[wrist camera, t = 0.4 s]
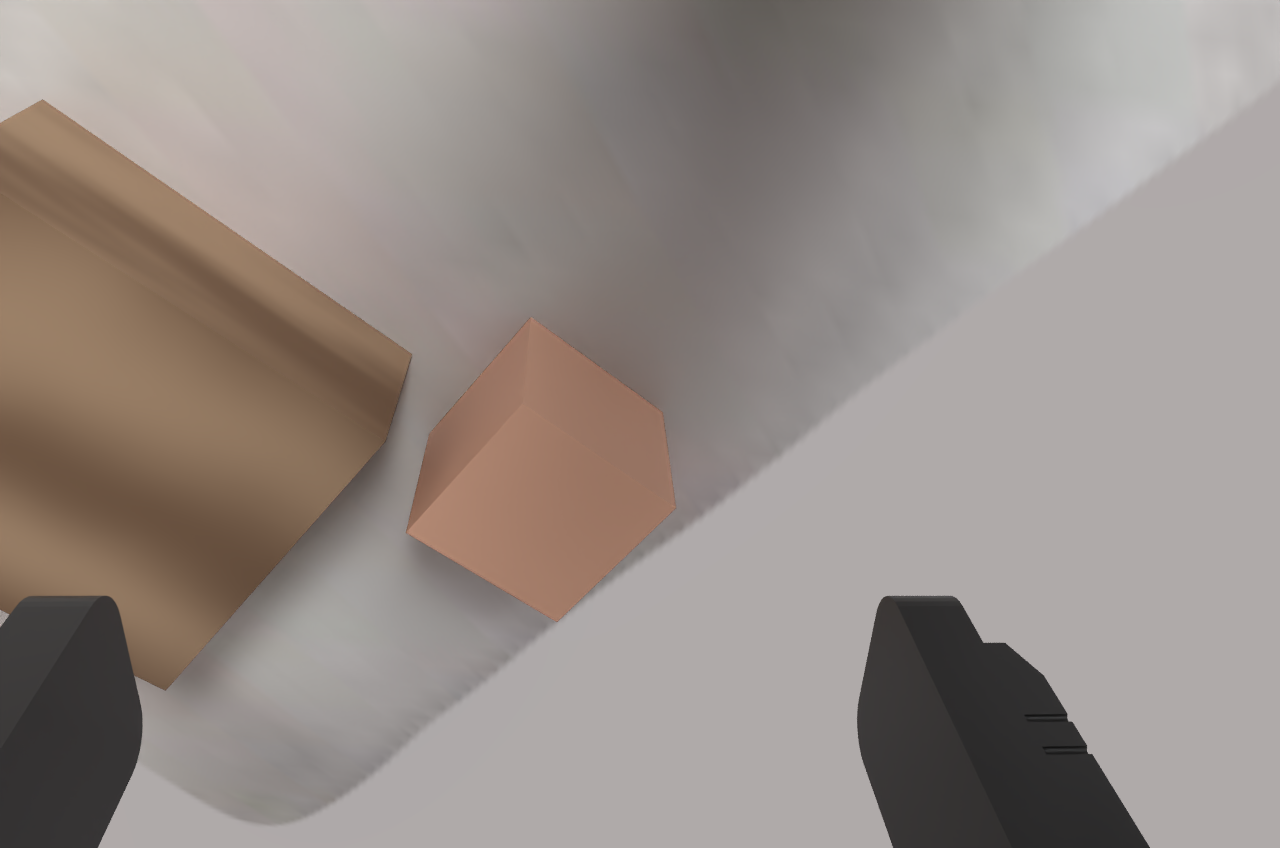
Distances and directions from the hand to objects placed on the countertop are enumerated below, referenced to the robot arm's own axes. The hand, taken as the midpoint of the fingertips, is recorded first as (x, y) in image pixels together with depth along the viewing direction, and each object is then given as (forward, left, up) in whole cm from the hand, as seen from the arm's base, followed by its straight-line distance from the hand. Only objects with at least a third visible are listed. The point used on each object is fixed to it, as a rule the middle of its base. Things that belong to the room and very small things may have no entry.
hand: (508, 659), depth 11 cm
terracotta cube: (+6, +5, -19) cm, 20 cm away
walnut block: (+12, -5, -19) cm, 23 cm away
